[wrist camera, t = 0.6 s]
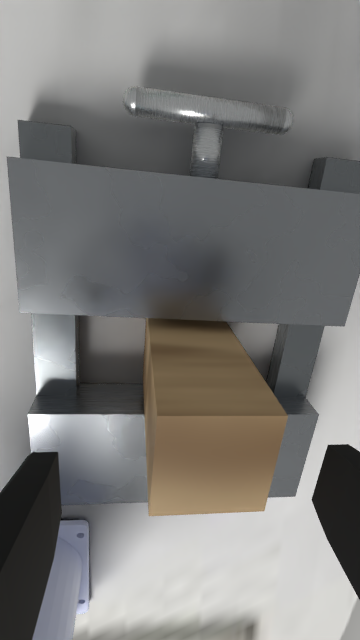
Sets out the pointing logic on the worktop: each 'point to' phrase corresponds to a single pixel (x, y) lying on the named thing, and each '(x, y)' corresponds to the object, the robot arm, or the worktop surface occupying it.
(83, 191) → the vise
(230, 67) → the worktop surface
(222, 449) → the oak peg
